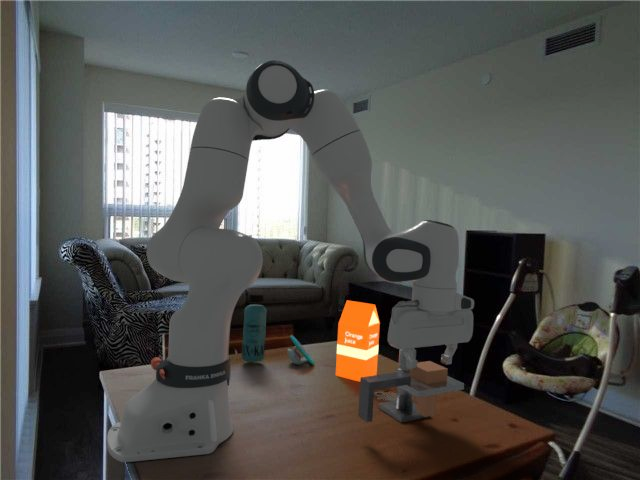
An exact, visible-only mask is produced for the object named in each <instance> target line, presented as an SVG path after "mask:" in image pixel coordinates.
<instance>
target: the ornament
mask: <svg viewBox="0 0 640 480" xmlns="http://www.w3.org/2000/svg"><path fill="white" fill-rule="evenodd" d="M289 337H290V339H291V342H292V343H293V344H294V346H295V347H294V349H291V348H287V356H288V357H289V359H290V360H291V361H292V363H294V364H295V365H297V366H301V365H302V360H301V358H305V359H306V361H307V362H308V363H309V364H310V365H313V366H315V362H314V359H313V358H312V356H311V355H310V353H308V351H307V350H306V348H305V347H304V345H302V344H301V342H300V341H299V340H298V339H297V338H296V337H295V336H293V335H292V334H291V335H290V336H289Z"/></svg>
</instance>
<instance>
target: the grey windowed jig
mask: <svg viewBox="0 0 640 480" xmlns="http://www.w3.org/2000/svg"><path fill="white" fill-rule="evenodd" d="M398 352H399V354H398V367H396V368H395V369H396V370H395V371H396V372H388V373H382V374H377V375H374V376H367V377H361V378H360V382H359V394H358V395H359V396H358V397H359V398H358V417H359V418H360V419H362V420H363V421H364V422H366V423H371V422H373V417H374V415H373V413H374V400H375V395H374V393H375V391H377V390H383V389H384V390H385V389H389V388H390V389H391V388H396V387H397V388H396V392H397V399H396V400H395V401H385V402H380V403H378V408H379V409H380V410H381V411H383V412H385V413H386V415H387V414H388V415H389V417H392V418H394V419H395V420H396V421H398V422H399V423H406V422H410V421H415V420H420V419H425V418H426V417H424V416H422V415H421V414H419V413H417V412H416V404H417V402H414V396H415V397H416V398H417V397H424V396H429V395H435V394H437V395H440V394H443V393H444V394H445V393H451V392H457V391H461V390H465V383H464V382H462V381H460V380H458V379H455V378H453V377H451V376H449V375H447V381H443V382H436V383H430V384H426V383H424V382H422V381H420V380H418V379H416V378H414V377H412V376H410V375H409V373H410V369H408V368H407V367H406V358H405V356H404V354H403V352H402V349H399V351H398ZM412 355H413V358H414V359H415V360H417V359H416V357H417V349H415V348H414V353H412ZM429 417H431V416H428V417H427V418H429Z"/></svg>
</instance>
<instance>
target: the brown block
mask: <svg viewBox="0 0 640 480" xmlns="http://www.w3.org/2000/svg"><path fill="white" fill-rule="evenodd" d="M448 370H449V369H448V368H447V367H445V366H444V365H443V366H442V365H440V364H438V363H435V362H433V361H431V360H428V361H427V360H426V361H417V368H416V369H410V373H409V375H410V376H412V377H414V378H416V379H418V380H420V381H422V382H424V383H426V384H430V383H436V382H443V381H447V376H448V373H449V371H448ZM437 395H438V394H435V395H429V396H424V397H416V412H417V413H419V414H421V415H422V416H424V417H425V418H429V417H428V416H430V417H433V416H436V414H437V413H436V411H437Z"/></svg>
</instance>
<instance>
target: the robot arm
mask: <svg viewBox="0 0 640 480" xmlns="http://www.w3.org/2000/svg"><path fill="white" fill-rule="evenodd" d="M245 86H246V87H245V91H244V94H243V96H240V97H239V98H233V99H231V98H228V97H216V98H212V99H210V100H208V101H207V102H205V104H204V105H203V107H202V109H201V111H200V114H199V117H198V119H197V121H196V123H195V124H196V125H195V129H194V131H193V134H192V139H191V142H190V143H191V144H190V148H189V153H188V154H189V155H188V159H187V166H186V171H185V176H184V180H183V185H182V189H181V191H180V194H179V197H178V199H177V202H176V204H175V206H174V208H173V210H172V212H171V213H170V215H169V217H168V219H167V220H166V222H165V224H163V225H162V227H161V228H159V230H158V231H156V232H155V233H154V234H153V235H152V236H151V238H150V240H149V241H148V244H147V247H146V258H147V262H148V264H149V266H150V268H152V270H153V271H154V272H156V273H158V274H159V275H161V276H163V277H164V278H166V279H169V280H171V281H173V282H180V283H186V284H188V286H189V287H188V292H187V296H186V299H185V300H184V303H183V305H182V306H181V307H179V308H178V309H177V310H176V311H175V312H174V313H172V315H171V316H170V319H169V327H168V328H169V329H168V354H167V357H166V358H165V359H163V360H162V359H161V358H160V357H157V356H156V357H153V358H152V359H151V361H150V366H151V367H152V368H151V369H153V370H154V371H155V379H154V380H153V381H152V382H151V383H149V384H148V385H146V386H145V387H143V389H141V390H140V391H138V392H137V393H136V394H135V395H133V396H132V397H130V398H129V399H128V401H127V402H126V404H125V406H124V408H123V412H122V416H121V421H119V422H116V423H114V424H113V425H112V426H111V427H110V428H109V430H108V432H107V434H106V449H107V451H108V453H109V455H110V456H111V457H112V458H113V459H115V460H116V461H118V462H121V463H132V462H141V461H150V460H153V461H154V460H159V459H160V460H162V459H168V458H169V459H170V458H171V459H173V458H181V457H191V456H201V455H209V454H211V453H213V452H214V451H215V450H216V449H217V447H218V446H219V445H220V444H222V443H223V442H224V441H226V440H228V439H229V438H230V437H231V436H232V434H233V433H234V429H235V428H234V423H233V419H232V416H231V415H232V413H231V410H230V409H231V407H230V401H229V399H230V398H229V386H230V381H231V371H232V369H231V368H232V367H231V366H232V365H231V357H230V356H229V351H230V350H229V348H230V333H231V322H232V317H233V314H234V311H235V308H236V305H237V303H238V301H239V298H240V297H241V296H242V294H243V293H244V291H245V290H247V289H248V288H249V287H251V286H252V285H253V284H254V283H255V282H256V280H257V279H258V278H259V276H260V274H261V272H262V268H263V263H264V260H263V259H264V258H263V251H262V249H261V246H260V244H259V242H258V241H257V239H255V238H254V237H252V236H251V235H248V234H245V233H243V232H240V231H237V230H235V229H229V228H221V225H222V223H223V221H224V219H225V218H226V216H227V215H228V214H229V212H230V211H231V210H233V209H235V208H236V207H237V206H239V204H240V203H241V202H242V199H243V196H244V190H245V184H246V178H247V172H248V165H249V160H250V152H251V147H252V143H253V141H255V142H256V141H261V140H263V141H265V140H267V141H269V140H275V139H278V138H281V137H282V136H284V135H285V134H286V133H288V132H289V130H290V131H293V132H295V133H296V134H297V135H299V137H300V138H302V140H303V142H304V143H305V144H306V147H307V148H308V151H309V153H310V155H311V157H312V159H313V162H314V163H315V165H316V167H317V168H318V170H319V171H320V173H321V175H322V176H323V177H324V179H325V180H326V181H327V183H329V185H330V186H331V188H332V189H333V190H334V191H335V192H336V193H337V194H338V196H339V197H340V199H341V200H342V201H343V203H344V204H345V205H346V207H347V209H348V212H349V214H350V216H351V217H352V220H353V222H354V224H355V226H356V228H357V230H358V231H359V235H360V237H361V239H362V244H363V245H362V246H363V260H364V263H365V265H366V267H367V269H368V270H369V271H370V272H371V273H372V274H373V275H375V276H377V277H379V278H380V279H381V280H384V281H386V282H388V283H394V284H395V283H401V282H411V281H412V290H411V291H412V292H411V300H407V301H405V300H400V301H398V302H397V303H396V304H395V305H394V306H393V307H392V309H391V317H390V321H389V324H388V325H389V327H388V332H387V343H388V345H390V346H391V347H393V348H394V349H398V350H400V349H402V352H403V354H404V356H405V358H406V367H407V368H408V369H416V368H417V363H418V360H417V359H416V360H415V359H414V358H413V355H412V353H414V349H415V348H426V347H427V348H428V347H434V346H442V345H443V346H444V345H445V347H446V349H445V350H444V353H441V355H440V363H441V364H444V365H451V364H452V363H453V362H452V361H453V356H454V355H455V352H456V350H457V349H458V344H461V343H469V342H470V341H471V340H472V337H473V334H474V333H473V332H474V313H473V309H474V307H475V300H474V299H473V298H471V297H468V296H466V295H463V294H460V293H458V292H457V290H458V284H457V278H456V274H457V271H458V268H459V260H460V258H459V257H460V256H459V255H460V243H459V233H458V231H457V230H456V228H455V227H454V226H453V225H451V224H448V223H446V222H442V221H436V220H431V219H423V220H421V221H419V222H418V223H417V224H415V225H413V226H412V227H409V228H407V229H404V230H402V231H399V232H396V233H395V232H394V231H393V230H392V229H390V227H389V226H388V224H387V222H386V219H385V218H384V215H383V213H382V211H381V208H380V207H379V204H378V203H377V201H376V198H375V196H374V193H373V190H372V187H373V186H372V168H373V160H372V156H371V153H370V150H369V146H368V144H367V142H366V141H367V140H366V139H365V137H364V135H363V133H362V130H361V128H360V126H359V124H358V123H357V121H356V119H355V118H354V116H353V114H352V113H351V111H350V110H349V108H348V107H347V105H346V104H345V103H344V101H343V100H342V99H341V97H340V95H338V94H337V93H336V92H335V91H333V90H330V89H318V90H314V86H313V84H312V83H311V82H310V81H308V80H307V79H306V78H304V77H303V76H302V75H301V74H300V73H299V72H298V71H297V69H296V68H294V67H293V66H292V65H290V64H289V63H287V62H285V61H281V60H268V61H265V62H263V63H261V64H260V65H258V66H257V67H255V69H254V70H253V71H252V73H251V74H250V75H249V77H248V79H247V83H246V85H245Z"/></svg>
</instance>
